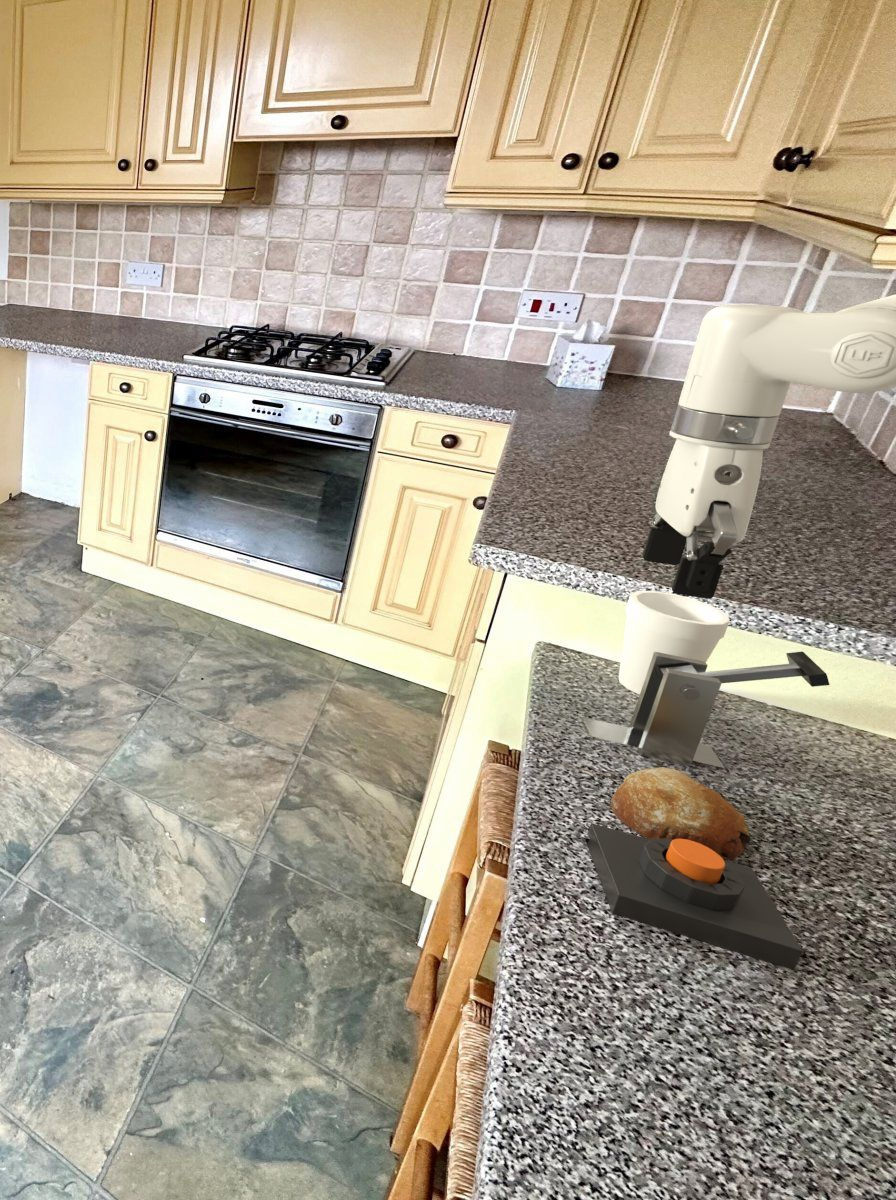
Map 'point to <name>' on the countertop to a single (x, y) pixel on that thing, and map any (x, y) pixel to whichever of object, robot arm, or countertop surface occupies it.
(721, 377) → the robot arm
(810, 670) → the lever
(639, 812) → the bread roll
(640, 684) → the foam cup
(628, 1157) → the countertop surface
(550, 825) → the countertop surface
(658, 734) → the metal lever bracket
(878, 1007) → the countertop surface
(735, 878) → the control block
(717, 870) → the button
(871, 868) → the countertop surface
